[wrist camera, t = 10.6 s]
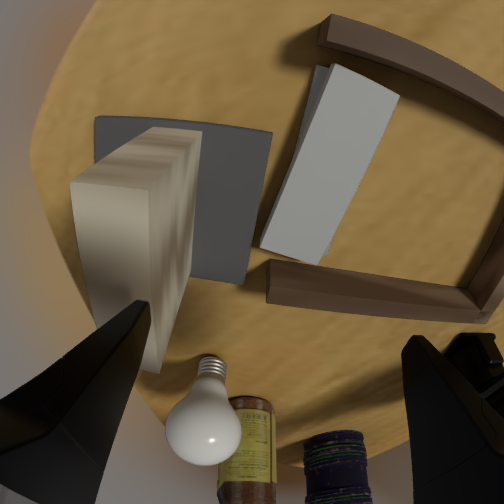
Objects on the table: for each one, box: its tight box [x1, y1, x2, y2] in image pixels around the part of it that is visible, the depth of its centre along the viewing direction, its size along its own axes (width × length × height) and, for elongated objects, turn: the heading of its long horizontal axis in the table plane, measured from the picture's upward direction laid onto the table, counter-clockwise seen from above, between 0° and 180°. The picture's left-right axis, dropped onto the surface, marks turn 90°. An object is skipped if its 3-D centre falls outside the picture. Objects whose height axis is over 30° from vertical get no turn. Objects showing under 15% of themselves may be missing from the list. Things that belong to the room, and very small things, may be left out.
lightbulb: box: [165, 357, 242, 466], centre depth 24 cm, size 6×6×11 cm
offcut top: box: [260, 63, 400, 265], centre depth 17 cm, size 12×4×1 cm, turn 161°
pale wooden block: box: [70, 127, 203, 374], centre depth 16 cm, size 10×3×9 cm, turn 171°
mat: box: [95, 116, 273, 285], centre depth 20 cm, size 11×11×1 cm
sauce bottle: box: [217, 397, 277, 504], centre depth 26 cm, size 6×6×20 cm
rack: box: [266, 14, 504, 324], centre depth 17 cm, size 18×20×3 cm
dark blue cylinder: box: [303, 430, 373, 504], centre depth 35 cm, size 10×10×15 cm
